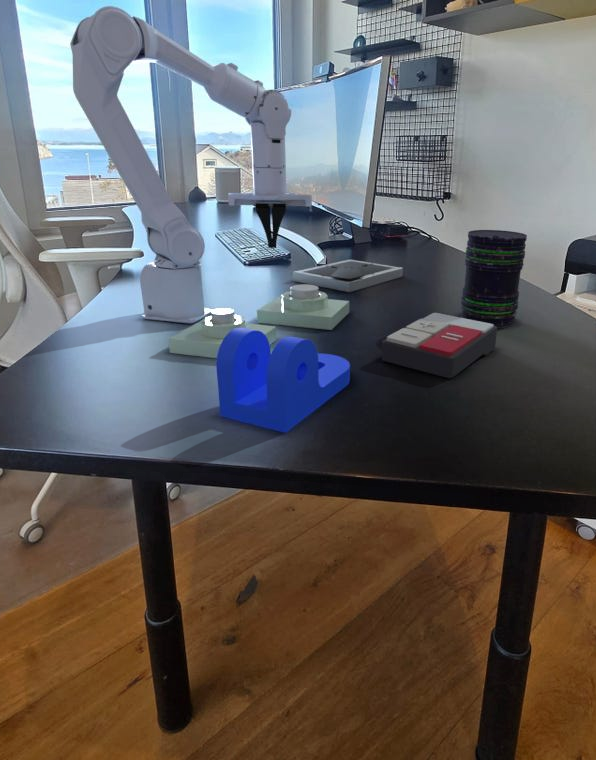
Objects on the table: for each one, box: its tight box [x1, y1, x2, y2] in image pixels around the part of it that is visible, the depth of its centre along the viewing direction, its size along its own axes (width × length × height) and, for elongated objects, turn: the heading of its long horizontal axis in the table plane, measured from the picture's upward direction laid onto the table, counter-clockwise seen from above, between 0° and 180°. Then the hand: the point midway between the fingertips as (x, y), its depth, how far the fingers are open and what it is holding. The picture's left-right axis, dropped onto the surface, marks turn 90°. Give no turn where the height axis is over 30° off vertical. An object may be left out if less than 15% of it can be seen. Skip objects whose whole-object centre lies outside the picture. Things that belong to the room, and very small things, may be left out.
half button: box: [210, 307, 235, 324], centre depth 79 cm, size 3×3×2 cm
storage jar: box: [459, 229, 528, 329], centre depth 94 cm, size 10×10×15 cm
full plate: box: [256, 290, 350, 331], centre depth 95 cm, size 13×11×4 cm
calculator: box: [381, 312, 498, 379], centre depth 79 cm, size 11×4×15 cm
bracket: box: [215, 328, 351, 434], centre depth 64 cm, size 18×8×9 cm, turn 155°
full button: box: [289, 283, 320, 299], centre depth 94 cm, size 5×5×2 cm
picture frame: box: [292, 259, 404, 293], centre depth 125 cm, size 16×3×21 cm
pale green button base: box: [167, 314, 277, 359], centre depth 80 cm, size 12×10×4 cm
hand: (272, 246), depth 100 cm, fingers closed
